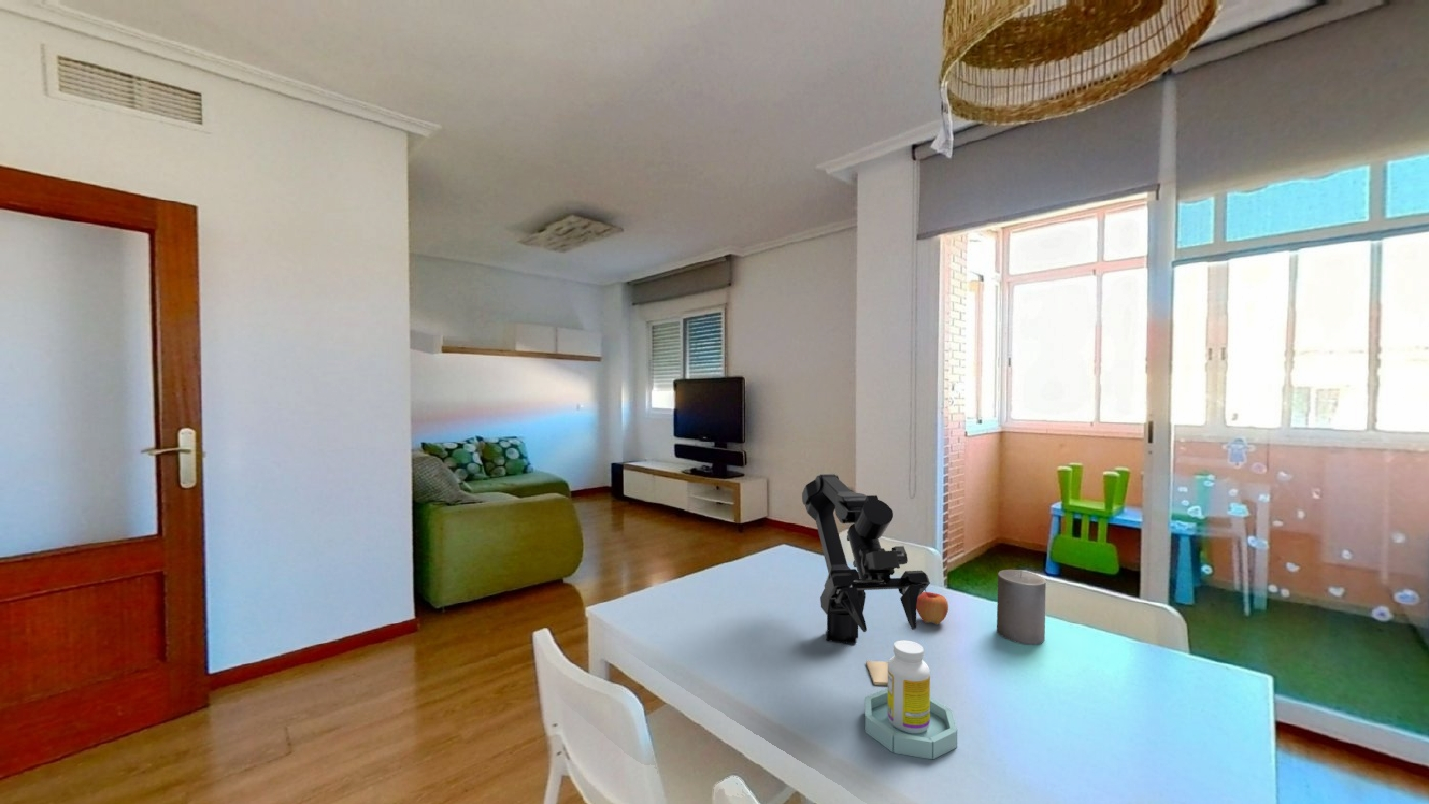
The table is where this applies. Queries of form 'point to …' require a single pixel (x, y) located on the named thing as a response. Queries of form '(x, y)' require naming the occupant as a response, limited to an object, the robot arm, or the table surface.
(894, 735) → the bowl
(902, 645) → the supplement bottle
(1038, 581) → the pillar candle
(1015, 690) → the table surface
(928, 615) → the apple
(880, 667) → the cork mat
